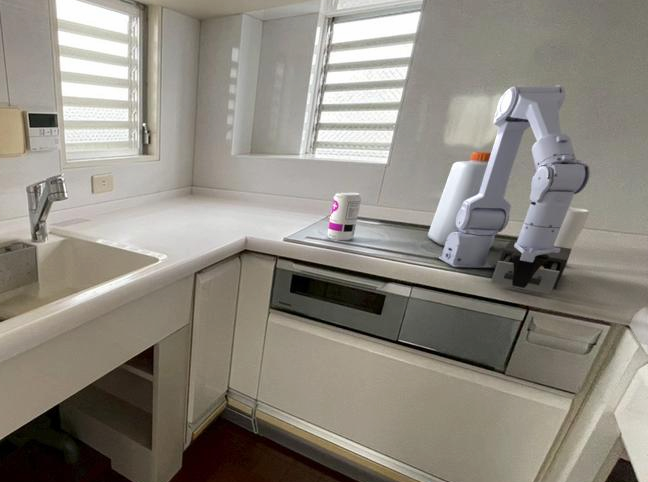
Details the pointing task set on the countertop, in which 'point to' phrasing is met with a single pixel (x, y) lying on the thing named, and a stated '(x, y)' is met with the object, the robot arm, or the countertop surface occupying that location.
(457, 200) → the plastic bottle
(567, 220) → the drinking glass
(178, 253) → the countertop surface
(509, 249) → the black drawer unit
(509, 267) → the pod drawer
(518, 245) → the robot arm
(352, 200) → the supplement can
